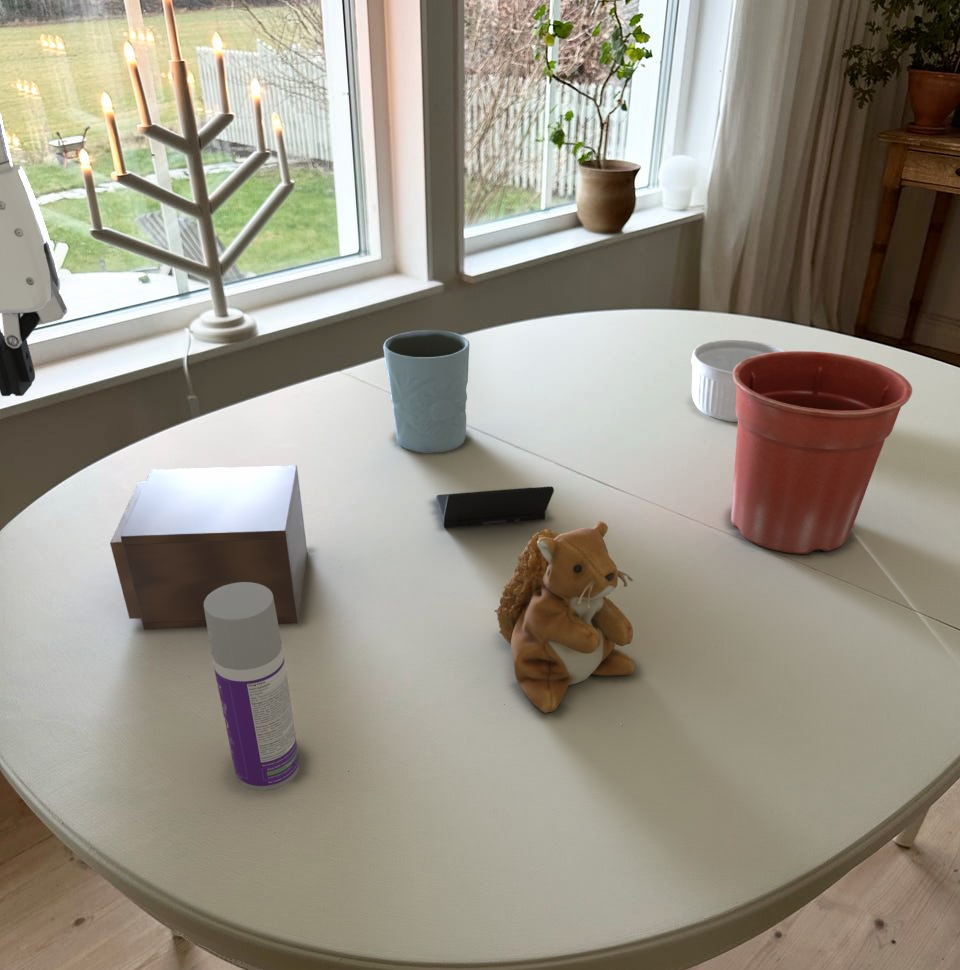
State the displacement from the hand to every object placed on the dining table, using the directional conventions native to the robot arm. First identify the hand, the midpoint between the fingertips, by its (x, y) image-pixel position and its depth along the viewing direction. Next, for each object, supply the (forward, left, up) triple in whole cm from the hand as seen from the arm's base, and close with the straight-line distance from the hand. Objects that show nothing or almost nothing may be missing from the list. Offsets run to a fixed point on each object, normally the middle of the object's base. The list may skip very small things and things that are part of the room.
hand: (17, 389), depth 80 cm
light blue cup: (+35, +30, -19) cm, 50 cm away
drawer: (+13, -3, -18) cm, 22 cm away
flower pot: (+72, +5, -19) cm, 75 cm away
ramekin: (+76, +37, -19) cm, 87 cm away
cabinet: (+15, -3, -19) cm, 24 cm away
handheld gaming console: (+41, +9, -19) cm, 46 cm away
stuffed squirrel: (+44, -16, -19) cm, 51 cm away
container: (+21, -28, -19) cm, 40 cm away
